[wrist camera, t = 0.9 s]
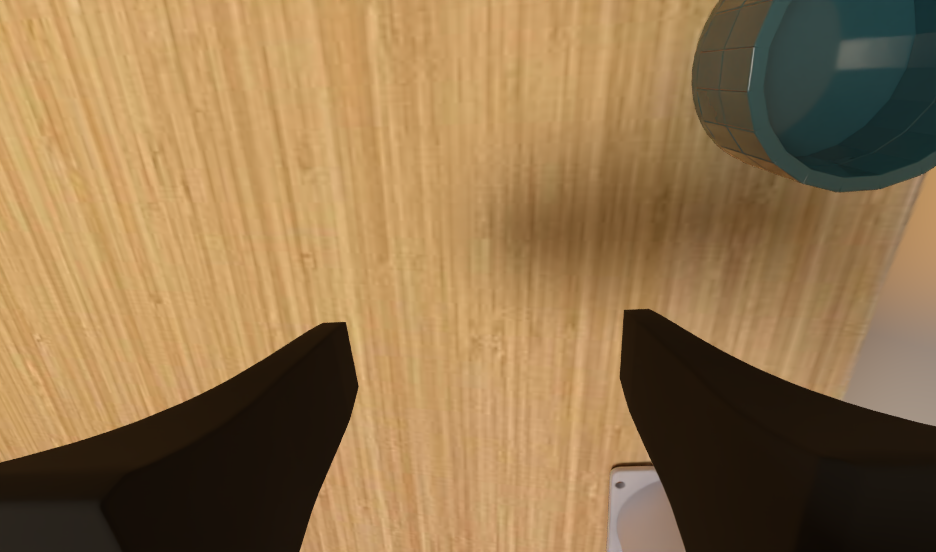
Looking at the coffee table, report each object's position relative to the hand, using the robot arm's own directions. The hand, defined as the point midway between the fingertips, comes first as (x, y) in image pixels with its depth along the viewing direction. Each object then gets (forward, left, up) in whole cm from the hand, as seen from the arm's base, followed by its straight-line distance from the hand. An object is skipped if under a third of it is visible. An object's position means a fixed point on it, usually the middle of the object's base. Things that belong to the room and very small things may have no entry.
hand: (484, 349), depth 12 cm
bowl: (+6, -12, -10) cm, 17 cm away
